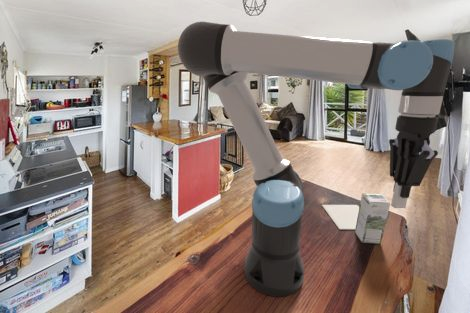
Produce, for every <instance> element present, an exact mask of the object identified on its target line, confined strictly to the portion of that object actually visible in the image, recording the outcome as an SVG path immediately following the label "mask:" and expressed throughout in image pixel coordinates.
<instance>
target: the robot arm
mask: <svg viewBox="0 0 470 313" xmlns="http://www.w3.org/2000/svg"><path fill="white" fill-rule="evenodd" d="M177 53H178V57H179V59H180V61H181V63H182V65H183V67H184V69H186V70H187V71H188V72H189V73H191V74H192V75H195V76H197V77H202V78H203V80H204V83H205V84H206V86H207V88H208V90H209V92H210V93H213V94H216V95H217V96H218V97H219V100H220V102H221V104H222V106H223V108H224V110H225V113H226V114H227V116H228V119H229V120H230V122H231V125H232V127H233V128H234V131H235V132H236V135H237V137H238V139H239V141H240V144H241V145H242V147H243V149H244V151H245V153H246V155H247V157H248V160H249V161H250V163H251V165H252V167H253V170H254V172H253V175H252V179H253V182H254V183H255V186H256V187H255V189H254V190H253V195H252V199H251V208H252V209H251V210H252V214H251V215H252V217H251V219H252V220H251V222H252V223H251V245H250V247H249V250H248V252H247V255H246V257H245V260H244V276H245V279H246V281H247V282H248V284H249V285H250V286H251V287H252V288H253V289H254V290H256V291H258V292H260V293H261V294H264V295H267V296H270V297H286V296H290V295H292V294H294V293H296V292H298V291H299V289H300V288H301V287H302V285H303V283H304V279H305V278H304V277H305V266H304V263H303V259H302V256H301V252H300V242H301V232H302V223H303V212H304V209H305V201H304V193H303V192H304V191H303V190H304V187H303V181H302V179H301V177H300V175H299V174H298V173H297V172H296V171H295V170H294V168H293V166H292V163H291V162H290V160H288V159H286V158H283V157H282V155H281V152H280V151H279V148H278V146H277V144H276V142H275V140H274V138H273V135H272V134H271V131H270V129H269V127H268V126H267V123H266V121H265V118H264V116H263V114H262V113H261V112H262V111H261V110H260V108H259V106H258V103H257V102H256V100H255V98H254V95H253V92H252V91H251V88H250V87H249V85H248V82H247V76H248V74H255V75H266V76H273V77H283V78H291V79H302V80H307V81H318V82H319V81H320V82H326V83H334V84H344V85H347V87H348V88H349V89H356V90H357V89H359V90H363V89H364V90H365V89H366V90H367V89H369V90H370V89H373V90H379V89H380V90H392V91H401V96H400V101H399V105H398V110H397V112H398V113H399V115H397V117H396V123H395V128H394V129H395V130H396V131H397V132H398V133H397V135H396V137H395V138H389V140H388V142H389V143H388V145H389V149H390V150H389V151H390V152H389V176H390V177H392V178H393V181H394V184H393V191H392V192H393V194H392V199H391V203H390V206H391V207H392V208H394V209H406V207H407V202H408V198H409V197H410V194H411V190H412V187H420V186H421V184H422V182H423V179H424V178H425V175H426V174H427V172H428V170H429V168H430V166H431V163H432V162H433V160H434V159H435V158H436V157H437V156H438V154H439V152H438V150H432V148H431V146H430V144H431V139H430V137H431V136H432V134H435V132H436V130H437V125H438V121H439V118H438V117H437V115H439V114H440V113H441V107H442V103H443V99H444V95H445V91H446V86H447V83H448V78H449V75H450V70H451V68H452V65H453V60H454V53H455V42H454V41H453V40H451V39H447V38H446V39H444V38H440V39H431V40H430V39H428V40H422V41H419V40H414V39H413V40H411V39H410V40H403V41H398V42H396V43H391V42H389V43H388V42H380V41H379V42H377V41H376V42H373V41H365V40H354V39H353V40H352V39H351V40H350V39H340V38H329V37H328V38H326V37H316V36H315V37H314V36H304V35H303V36H302V35H289V34H279V33H277V34H276V33H263V32H250V31H238V30H237V29H236V28H235V26H234V25H233V24H223V23H217V22H207V21H195V22H193V23H191V24H189V25H188V26H186V28H184V30H183V31H182V32H181V34H180V36H179V38H178V43H177Z"/></svg>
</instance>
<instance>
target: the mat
mask: <svg viewBox="0 0 470 313" xmlns="http://www.w3.org/2000/svg"><path fill="white" fill-rule="evenodd" d="M321 206H322V208H323V209H324V210H325V212H326V213H327V214H328V216H329V217H330V219H331V220H332V221H333V222H332V223H334V225H335V226H336V227H337V228H338V230H339V231H355V229H356V224H357V218H358V212H359V207H360V205H358V204H322V205H321Z"/></svg>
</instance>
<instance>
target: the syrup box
mask: <svg viewBox="0 0 470 313" xmlns="http://www.w3.org/2000/svg"><path fill="white" fill-rule="evenodd" d="M360 196H361V197H360V202H359V212H358V218H357V224H356V229H355V230H354V233H355V234H356V236H357V237H358V239H359V240H360V242H361V243H362V244H375V245H376V244H377V245H381V244H382V242H383V241H382V240H383V236H384V232H385V228H386V224H387V219H388V215H389V211H390V206H391V203H390V201H389V200H388V199H387V198H386V197H385V196H384V195H383V194H380V193H378V194H377V193H361V195H360Z"/></svg>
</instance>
